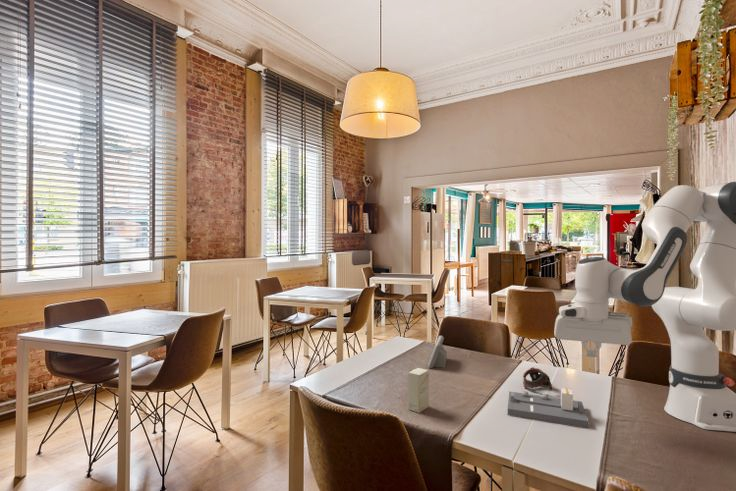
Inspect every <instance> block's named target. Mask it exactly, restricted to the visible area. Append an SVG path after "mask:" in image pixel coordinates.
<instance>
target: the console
mask: <svg viewBox="0 0 736 491" xmlns="http://www.w3.org/2000/svg"><path fill="white" fill-rule="evenodd" d="M507 416H512V417H518V418H525V419H532V420H537V421H543V422H549V423H555V424H561V425H567V426H574V427H580V428H586V429H589V419H588V416H587V413H586V410H585V407H584V404H583V401H580V400H574V399H573V411H571V410H564V409H562V408H561V397H560V398H559V397H558V398H557V397H554V396H553V397H552V396H551V397H550V396H549V395H548V394H546V393H541V395H538V394H529V392H528V391H526V390H523V391H521V392H517V391H509V394H508V400H507Z"/></svg>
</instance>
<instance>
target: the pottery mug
mask: <svg viewBox="0 0 736 491" xmlns="http://www.w3.org/2000/svg"><path fill="white" fill-rule="evenodd" d="M527 376H529V377H530V378H531V380H528V379H527ZM522 377H523V380H522V381H523V382H522V385H523V388H524V389H527V388H528V389H534V388H539V387H541V388H544V386H546V387H549V388H550V390H551V391H553V385H552V382H551V379H550V376H549V375H548V374H547V373H546V372H544V371H543V370H542V369H540V368H538V367H537V368H536V367H534V366H533V367H529V368H528V369H527V370H525V372H524V373H523V374H522Z"/></svg>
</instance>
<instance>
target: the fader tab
mask: <svg viewBox="0 0 736 491" xmlns="http://www.w3.org/2000/svg"><path fill="white" fill-rule="evenodd" d="M560 399H561V408H562V409H564V410H571V411H573V400H574V394H573V390H572V389H569V388H564V387H563V388H560Z"/></svg>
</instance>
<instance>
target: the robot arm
mask: <svg viewBox="0 0 736 491" xmlns="http://www.w3.org/2000/svg"><path fill="white" fill-rule="evenodd" d="M702 222H706V232H705V233H704V235H703V237H702V239H701V240H700V242H699V244H698V246H697V249H696V251H695V253H694V255H693V257H692V259H691V262H690V264H689V269H690V271H691V273H692V274H693V275H694V276H695V277H696V278H698V280H697V286H696V288H688V287H682V286H667V287H666V285H667V283H668V280H669V278H670V276H671V274H672V272H673V270H674V268H675V267H676V265H677V264H678V261H679V260H680V258H681V256H682V254H683V252H684V250H685V248H686V246H687V242H688V235H687V232H688V229H690V227H691V225H693V223H702ZM641 228H642V232H643V234H644V235H645V237H646V238H647V239H648V240H650V241H651V242H653V244H656V247H655V249H654V251H653V252H652V254H651V256H650V258H649V259H648V261H647V262H646V265H644V266H643V267H641V268H637V269H631V268H624V267H621V266H618V265H615V264H613V263H611V262H610V261H609V260H607V259H606V258H605V257H602V256H592V257H591V256H590V257H585V258H582V259H581V260H579V261H578V262H577V264H576V268H575V276H574V287H575V291H576V294H575V297H574V303H570V304H564V305H561V306H559V308H558V313H559V314H558V315H557V316H556V318H555V322H554V330H553V331H554V332H553V335H554V337H555V338H556V339H557V340H563V341H574V342H575V341H576V342H581V345H582V347H583V349H584V353H585V357H591V358H592V357H593V358H597V357H598V352H599V351H600V349H601V348H602V344H609V345H610V344H612V345H620V346H622V345H623V346H630V345H631V343H633V342H632V341H633V340H632V331H631V328H632V326H633V318H632V316H631V315H630V314H627V313H626V312H615V311H610V310H609V308H610V306H609V304H610V301H609V300H610V298H611V299H614V300H619V301H622V302H627V303H630V304H633V305H635V306H638V307H642V308H643V307H644V308H648V307H651V309H652V310H653V311H654V313H656V314H657V316H658V317H659V318H660V320H662V322H663V324H664V326H665V329H666V331H667V333H668V337H669V340H670V356H671V357H670V359H671V364H670V365H669V371H668V381H669V391H668V396H667V398H666V402H665V405H664V408H663V409H664V411H665V413H667V414H669V415H670V416H672V417H674V418H676V419H679V420H681V421H683V422H687V423H689V424H692V425H694V426H696V427H698V428H700V429H704V430H709V431H722V432H723V431H724V432H733V433H735V432H736V392H734V391H733V390H731V389H730V388H729V387H734V385H735V384H736V383H735V381H734V380H733V379H732V378H730V377H726V376H725V375H724V374H722V373H721V372H719V371H720V370H719V369H720V367H719V364H720V363H719V362H720V360H719V359H720V358H719V357H720V350H719V348H718V346H717V344H716V343H715V342H714V341H713V340H711V339H710V338H709V337H708V335H707V334H706V331H705V330H704V329H709V330H713V331H723V332H724V331H726V332H727V331H728V332H734V331H736V181H731V182H727V183H719V184H712V185H709V186H706V187H701V188H696V187H694V186H691V185H687V184H681V185H676V186H675V185H674V186H673V187H672V188H670V189H669V190H667V192H665V193H664V194H663V195H662V196H661V197H660V198H659V199H658V200H657V201H656V202H655V203H654V204H653V205H652V207H651V208H650V210H649V211H648V212H647V213H646V215H645V216H644V218H643V220H642V223H641ZM588 342H589V343H594V344H595V345H594V346H595V348H593V349H589V348H588V347H587V346H588Z"/></svg>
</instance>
